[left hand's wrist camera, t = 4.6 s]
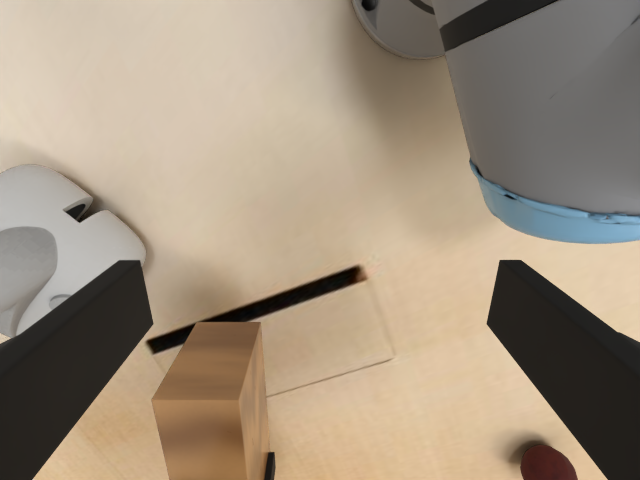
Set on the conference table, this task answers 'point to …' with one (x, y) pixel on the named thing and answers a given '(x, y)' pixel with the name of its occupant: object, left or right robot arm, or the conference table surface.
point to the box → (215, 405)
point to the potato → (546, 465)
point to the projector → (51, 244)
